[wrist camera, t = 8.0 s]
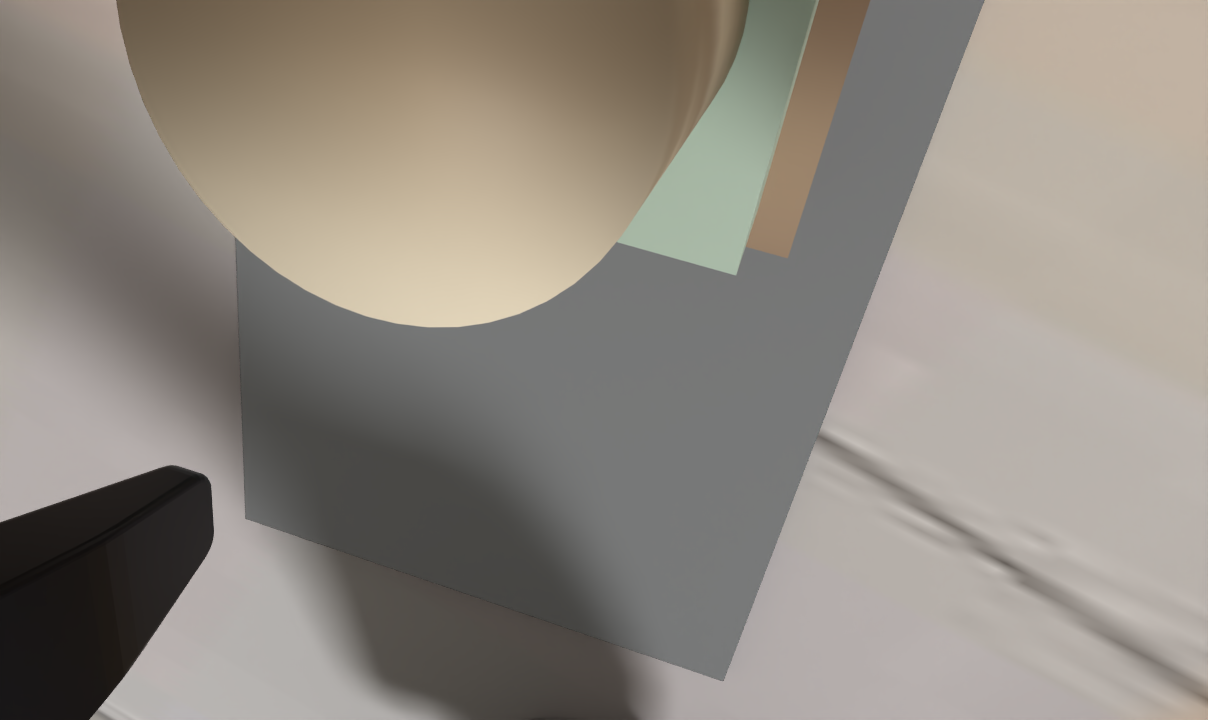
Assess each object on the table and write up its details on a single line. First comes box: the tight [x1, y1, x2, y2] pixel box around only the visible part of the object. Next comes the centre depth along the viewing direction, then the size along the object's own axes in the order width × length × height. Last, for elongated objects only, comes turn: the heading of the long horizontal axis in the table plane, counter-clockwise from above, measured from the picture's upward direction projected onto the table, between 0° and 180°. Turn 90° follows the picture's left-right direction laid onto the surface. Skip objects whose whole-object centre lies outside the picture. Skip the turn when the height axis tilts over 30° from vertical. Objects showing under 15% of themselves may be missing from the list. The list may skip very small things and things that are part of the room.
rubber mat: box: [235, 0, 984, 681], centre depth 20 cm, size 24×15×1 cm, turn 169°
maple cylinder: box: [116, 0, 749, 327], centre depth 10 cm, size 5×5×5 cm
